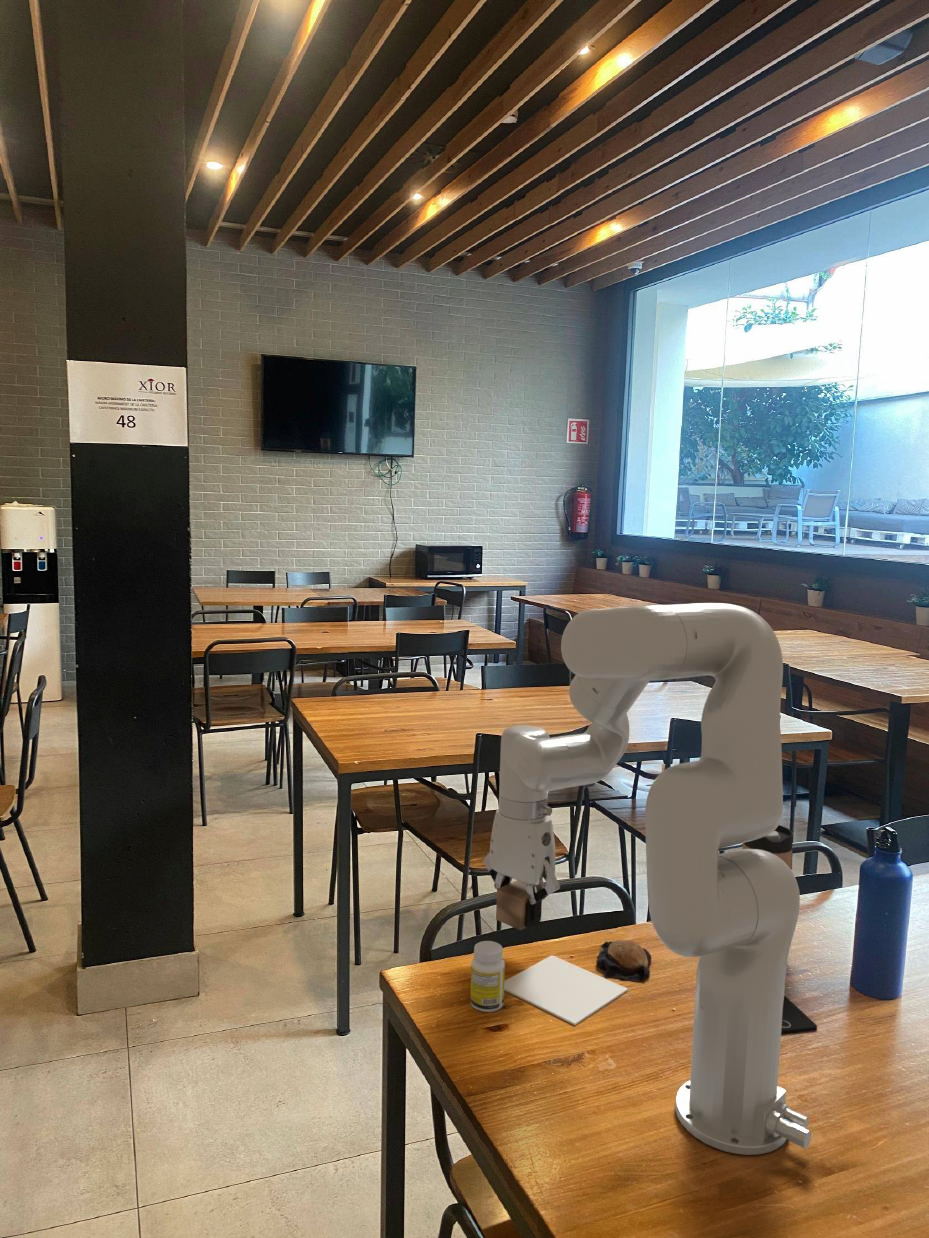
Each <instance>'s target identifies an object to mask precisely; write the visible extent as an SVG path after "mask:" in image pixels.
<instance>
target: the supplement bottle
mask: <svg viewBox="0 0 929 1238" xmlns="http://www.w3.org/2000/svg"><path fill="white" fill-rule="evenodd" d="M503 950H504V949H503V945H501V944H500V943H498V942H496V941H493V940H483V941H479V942H477V943H476V944H475V945H474V947H473V958H472V960H471V963H470V965H471V967H470V970H471V971H470V1005H471V1007H472V1008H474V1009H475V1010H477V1011H480V1012H484V1013H493V1012H497V1011H499V1010H501V1009H502V1007H503V1006H504V1004H505V990H504V981H505V975H506V974H505V973H506V972H505V971H506V962H505V960H504V959H503Z"/></svg>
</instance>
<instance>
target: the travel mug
mask: <svg viewBox="0 0 929 1238" xmlns="http://www.w3.org/2000/svg"><path fill="white" fill-rule="evenodd" d="M793 841H794V833H793V831H792V829H789V828H788V827H785V826H783V825H780V824H779V825H778V827H777V828H776V829H775V830H774V831H773V832H772V833H770V834H769V835H767V836H764V837H762V838H759V839H756V840H753V841H749V842H745V843H742V849H759V850H764V851H767V852H770V853H772V854H774V855H776V856H778V857H779V858H780V859H782V860H783V861H784V862H785V863H786V864H787V865H788V867H789V868H790V869H791V870H792V863H793V861H792V860H793V859H792V857H793V843H794V842H793ZM742 849H741V850H742Z"/></svg>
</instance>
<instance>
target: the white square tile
mask: <svg viewBox="0 0 929 1238" xmlns="http://www.w3.org/2000/svg"><path fill="white" fill-rule="evenodd" d="M628 991H629V988H628V987H625V986H623V985H621V984H618V983H616V982H614V981H611V980H610V979H608V978H605V977H603V976H600V975H598V974H596V973H594V972H591V971H588V970H586V969H584V968H583V967H580V966H579V965H578V966H577V965H575V964H573V963H571V962H568V961H566V960H565V959H562V958H560V957H557V956H555V955H553V954H551V955H549V956H547V957H546V958H544V959H542V960H540V961H539V962H536V963H535V964H533V965H531V966H529V967H528V968H526V969H524V970H522V971H520V972H518V973H517V974H515V975H512V976H511V977H509V978H508V979H505V980H504V992H506V993H509V994H511V995H513V996H515V997H517V998H519V999H521V1000H522V1001H525V1002H527V1003H529V1004H531V1005H532V1006H535V1007H536V1008H539V1009H540V1010H543V1011H545V1012H547V1013H549V1014H551V1015H553V1016H555V1017H557V1018H559V1019H562V1020H563V1021H565V1022H566V1023H567V1022H568V1023H569V1024H571V1025H573V1026H576V1025H579V1023H582V1022H583V1021H584V1020H586V1019H587V1018H589V1017H590V1016H592V1015H593V1014H595V1013H597V1011H599V1010H601V1009H602V1008H604V1007H605V1006H607V1005H608V1004H610V1003H612V1002H613V1001H615V1000H616V999H617V998H619V997H621V996H622V995H623V994H625V993H627V992H628Z"/></svg>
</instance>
